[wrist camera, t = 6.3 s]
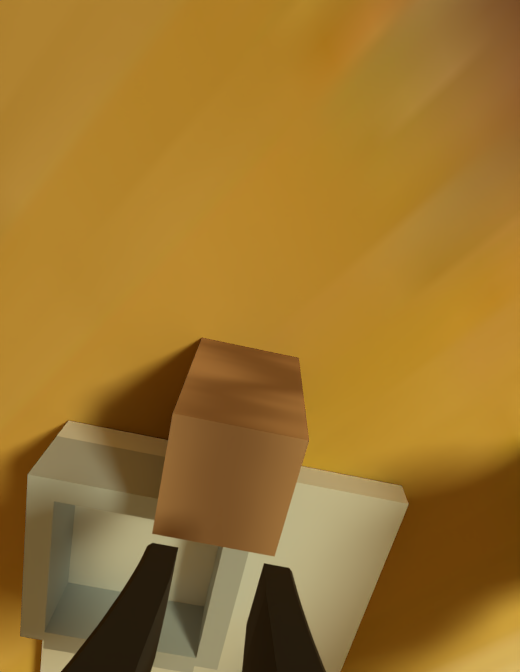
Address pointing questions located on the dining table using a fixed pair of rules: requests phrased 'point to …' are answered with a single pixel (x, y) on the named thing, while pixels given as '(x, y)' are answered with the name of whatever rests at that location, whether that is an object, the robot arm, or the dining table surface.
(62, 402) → the dining table surface
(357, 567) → the chassis
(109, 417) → the dining table surface
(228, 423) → the walnut block
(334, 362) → the dining table surface
